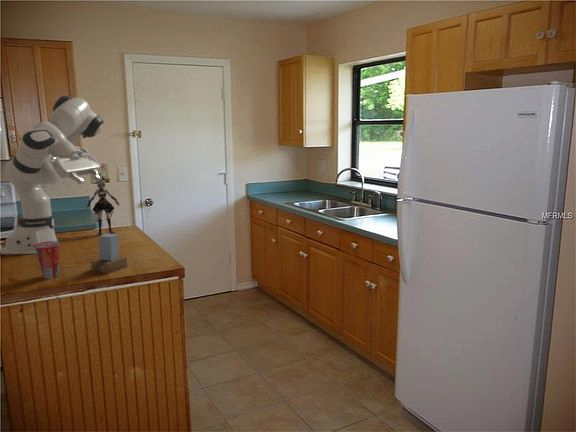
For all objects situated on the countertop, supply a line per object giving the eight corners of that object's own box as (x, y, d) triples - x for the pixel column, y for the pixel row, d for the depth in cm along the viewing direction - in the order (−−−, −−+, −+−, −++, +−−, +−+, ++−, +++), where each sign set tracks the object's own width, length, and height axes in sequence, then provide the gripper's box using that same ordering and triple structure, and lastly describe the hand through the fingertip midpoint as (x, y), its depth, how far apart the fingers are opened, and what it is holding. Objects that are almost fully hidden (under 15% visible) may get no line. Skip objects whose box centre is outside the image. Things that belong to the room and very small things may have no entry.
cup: (58, 270, 178) (54, 239, 175) (67, 275, 172) (64, 243, 170) (31, 276, 171) (27, 244, 169) (40, 282, 166) (36, 249, 163)
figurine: (90, 237, 227) (84, 174, 221) (89, 234, 233) (83, 173, 227) (122, 233, 234) (117, 172, 228) (120, 230, 239) (115, 171, 233)
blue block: (99, 259, 178) (98, 236, 176) (107, 256, 183) (106, 233, 181) (111, 260, 177) (110, 237, 175) (119, 257, 181) (118, 234, 180)
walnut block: (91, 271, 178) (90, 260, 178) (110, 264, 186) (109, 254, 185) (108, 274, 174) (107, 264, 173) (127, 267, 182) (126, 257, 181)
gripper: (51, 152, 177) (75, 179, 176) (89, 148, 196) (111, 172, 195) (43, 164, 179) (66, 190, 178) (81, 159, 198) (103, 183, 197)
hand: (90, 181), depth 187 cm, fingers open, 8 cm apart
